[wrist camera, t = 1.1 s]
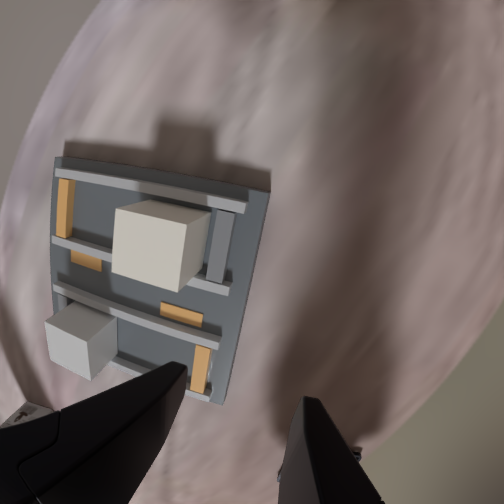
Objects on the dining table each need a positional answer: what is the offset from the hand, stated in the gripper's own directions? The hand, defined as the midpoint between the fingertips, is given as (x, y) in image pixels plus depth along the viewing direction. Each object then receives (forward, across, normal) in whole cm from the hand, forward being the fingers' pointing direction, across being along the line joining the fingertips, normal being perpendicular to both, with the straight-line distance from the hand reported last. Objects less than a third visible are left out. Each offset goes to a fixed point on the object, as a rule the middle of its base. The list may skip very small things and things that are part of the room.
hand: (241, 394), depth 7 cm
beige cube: (+12, +6, 0) cm, 13 cm away
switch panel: (+13, +10, +4) cm, 17 cm away
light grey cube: (+12, +12, +9) cm, 19 cm away
